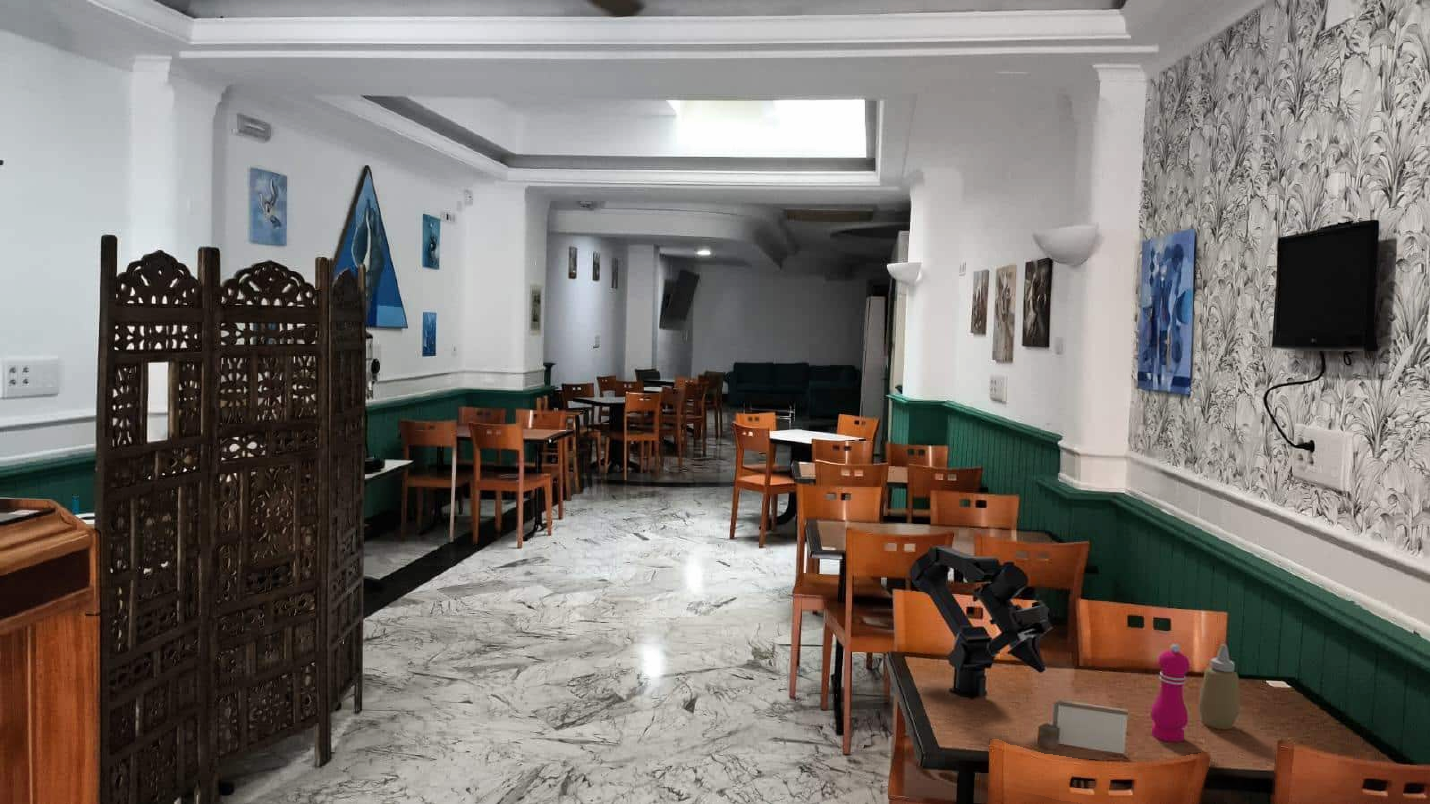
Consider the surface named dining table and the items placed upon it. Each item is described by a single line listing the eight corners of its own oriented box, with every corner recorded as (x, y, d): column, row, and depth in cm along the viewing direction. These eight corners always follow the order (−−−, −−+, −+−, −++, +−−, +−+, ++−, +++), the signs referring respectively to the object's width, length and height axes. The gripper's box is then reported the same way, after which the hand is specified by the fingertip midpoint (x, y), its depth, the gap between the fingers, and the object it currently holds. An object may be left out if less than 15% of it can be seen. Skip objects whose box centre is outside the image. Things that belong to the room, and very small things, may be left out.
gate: (1051, 740, 204) (1054, 698, 203) (1123, 751, 200) (1127, 709, 199) (1051, 742, 203) (1054, 701, 202) (1124, 754, 199) (1127, 711, 198)
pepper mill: (1142, 729, 213) (1150, 638, 212) (1174, 729, 214) (1182, 639, 212) (1160, 743, 206) (1168, 649, 204) (1193, 743, 207) (1201, 650, 205)
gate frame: (1037, 745, 202) (1038, 726, 201) (1083, 723, 215) (1084, 705, 214) (1050, 750, 200) (1052, 731, 199) (1096, 727, 213) (1097, 709, 212)
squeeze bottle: (1236, 735, 212) (1243, 653, 211) (1194, 725, 216) (1201, 645, 215) (1239, 723, 219) (1246, 644, 218) (1198, 714, 223) (1205, 636, 222)
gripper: (1003, 596, 209) (1048, 662, 202) (1047, 583, 221) (1090, 644, 214) (968, 623, 215) (1010, 687, 208) (1013, 609, 228) (1054, 669, 221)
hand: (1043, 671), depth 213 cm, fingers closed
